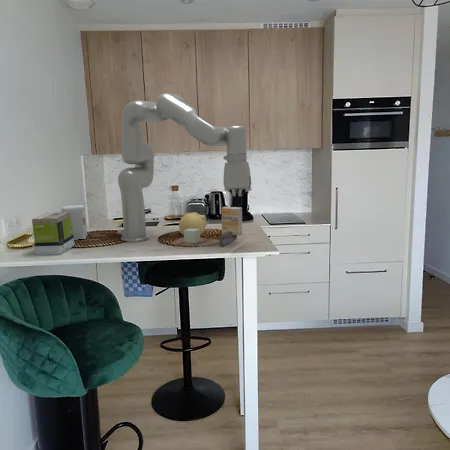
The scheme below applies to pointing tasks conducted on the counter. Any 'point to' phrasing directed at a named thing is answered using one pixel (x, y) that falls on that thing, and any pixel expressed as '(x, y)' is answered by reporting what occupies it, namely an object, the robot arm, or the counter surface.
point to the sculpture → (192, 222)
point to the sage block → (191, 235)
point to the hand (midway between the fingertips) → (238, 205)
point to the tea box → (53, 233)
